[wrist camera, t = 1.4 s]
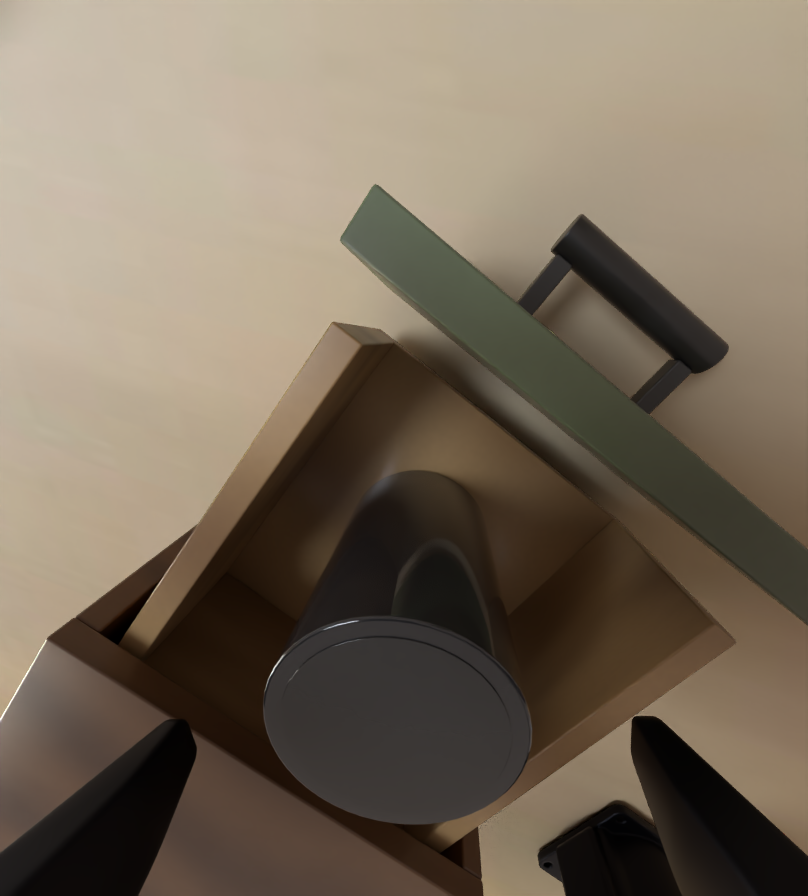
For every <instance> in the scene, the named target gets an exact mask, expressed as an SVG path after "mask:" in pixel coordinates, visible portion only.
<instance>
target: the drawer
mask: <svg viewBox="0 0 808 896" xmlns="http://www.w3.org/2000/svg"><path fill="white" fill-rule="evenodd" d="M340 241H341V243H342V244H343V245H344V246H345V247H346V248H347V249H348V250H349V251H350V252H351V253H352V254H354V255H355V256H356V257H357V258H358V259H359V260H360V261H361V262H362V263H363V264H364V265H365V266H366V267H367V268H368V269H369V270H370V271H371V272H372V273H373V274H374V275H375V276H377V277H378V278H379V279H380V280H381V281H382V282H383V283H384V284H385V285H386V286H387V287H388V288H389V289H390V290H392V291H393V292H394V293H395V294H397V295H398V296H399V297H400V298H401V299H403V300H404V301H405V302H406V303H408V304H409V305H410V306H411V307H412V308H414V309H415V310H416V311H417V312H419V313H420V314H421V315H422V316H423V317H425V318H426V319H427V320H428V321H430V322H431V323H432V324H433V325H434V326H436V327H437V328H438V329H439V330H441V331H442V332H443V333H444V334H445V335H447V336H448V337H449V338H450V339H452V340H453V341H454V342H455V343H456V344H458V345H459V346H460V347H461V348H463V349H464V350H465V351H466V352H467V353H469V354H470V355H471V356H472V357H474V358H475V359H476V360H477V361H478V362H480V363H481V364H482V365H483V366H485V367H486V368H487V369H488V370H489V371H491V372H492V373H493V374H494V375H496V376H497V377H498V378H499V379H500V380H502V381H503V382H504V383H505V384H507V385H508V386H509V387H510V388H511V389H513V390H514V391H515V392H516V393H518V394H519V395H520V396H521V397H522V398H524V399H525V400H526V401H527V402H529V403H530V404H531V405H532V406H533V407H535V408H536V409H537V410H538V411H540V412H541V413H542V414H543V415H544V416H546V417H547V418H548V419H549V420H551V421H552V422H553V423H554V424H555V425H557V426H558V427H559V428H560V429H562V430H563V431H564V432H565V433H566V434H568V435H569V436H570V437H571V438H573V439H574V440H575V441H576V442H577V443H579V444H580V445H581V446H582V447H584V448H585V449H586V450H587V451H588V452H590V453H591V454H592V455H593V456H595V457H596V458H597V459H598V460H599V461H601V462H602V463H603V464H604V465H606V466H607V467H608V468H609V469H610V470H612V471H613V472H614V473H615V474H617V475H618V476H619V477H620V478H621V479H623V480H624V481H625V482H626V483H628V484H629V485H630V486H631V487H632V488H634V489H635V490H636V491H637V492H639V493H640V494H641V495H642V496H643V497H645V498H646V499H647V500H648V501H650V502H651V503H652V504H653V505H655V506H656V507H657V508H658V509H660V510H661V511H662V512H663V513H665V514H666V515H667V516H669V517H670V518H671V519H672V520H674V521H675V522H676V523H677V524H679V525H680V526H681V527H683V528H684V529H685V530H686V531H688V532H689V533H690V534H692V535H693V536H694V537H695V538H697V539H698V540H699V541H700V542H702V543H703V544H704V545H706V546H707V547H708V548H709V549H711V550H712V551H713V552H715V553H716V554H717V555H718V556H720V557H721V558H722V559H723V560H725V561H726V562H727V563H729V564H730V565H731V566H732V567H734V568H735V569H736V570H738V571H739V572H740V573H741V574H743V575H744V576H745V577H746V578H748V579H749V580H750V581H752V582H753V583H754V584H755V585H757V586H758V587H759V588H761V589H762V590H763V591H764V592H766V593H767V594H768V595H769V596H771V597H772V598H773V599H775V600H776V601H777V602H778V603H780V604H781V605H782V606H783V607H785V608H786V609H787V610H789V611H790V612H791V613H792V614H794V615H795V616H796V617H798V618H799V619H800V620H801V621H803V622H804V623H805V624H806V625H808V549H807V548H805V547H804V546H803V545H802V544H801V543H800V542H798V541H797V540H796V539H795V538H794V537H793V536H791V535H790V534H789V533H788V532H787V531H785V530H784V529H783V528H782V527H781V526H780V525H778V524H777V523H776V522H775V521H774V520H772V519H771V518H770V517H769V516H768V515H767V514H765V513H764V512H763V511H762V510H761V509H760V508H758V507H757V506H756V505H755V504H754V503H752V502H751V501H750V500H749V499H748V498H747V497H745V496H744V495H743V494H742V493H741V492H739V491H738V490H737V489H736V488H735V487H734V486H732V485H731V484H730V483H729V482H728V481H726V480H725V479H724V478H723V477H722V476H721V475H719V474H718V473H717V472H716V471H715V470H714V469H712V468H711V467H710V466H709V465H708V464H706V463H705V462H704V461H703V460H702V459H701V458H699V457H698V456H697V455H696V454H695V453H693V452H692V451H691V450H690V449H689V448H688V447H686V446H685V445H684V444H683V443H682V442H681V441H679V440H678V439H677V438H676V437H675V436H673V435H672V434H671V433H670V432H669V431H668V430H666V429H665V428H664V427H663V426H662V425H660V424H659V423H658V422H657V421H656V420H655V419H653V418H652V417H651V416H650V415H649V414H650V413H651V412H652V411H653V410H654V409H655V408H656V407H657V406H658V405H659V404H660V403H661V402H662V401H663V400H664V399H665V398H666V397H667V396H668V395H669V394H670V393H671V392H672V391H673V390H674V389H675V388H676V387H677V386H678V385H679V384H680V383H681V382H682V381H683V380H684V379H685V378H687V377H688V376H689V375H690V374H698V373H701V372H704V371H706V370H708V369H710V368H711V367H713V366H714V365H716V364H717V363H718V362H719V361H721V360H722V359H723V358H724V356H725V355H726V354H727V352H728V349H729V346H728V344H727V343H726V342H725V341H724V340H723V339H722V338H720V337H719V336H718V335H717V334H716V333H715V332H714V331H713V330H712V329H710V328H709V327H708V326H707V325H706V324H705V323H704V322H703V321H702V320H700V319H699V318H698V317H697V316H696V315H695V314H694V313H693V312H691V311H690V310H689V309H688V308H687V307H686V306H685V305H684V304H683V303H681V302H680V301H679V300H678V299H677V298H676V297H675V296H674V295H673V294H671V293H670V292H669V291H668V290H667V289H666V288H665V287H664V286H663V285H661V284H660V283H659V282H658V281H657V280H656V279H655V278H654V277H653V276H651V275H650V274H649V273H648V272H647V271H646V270H645V269H644V268H642V267H641V266H640V265H639V264H638V263H637V262H636V261H635V260H634V259H632V258H631V257H630V256H629V255H628V254H627V253H626V252H625V251H624V250H622V249H621V248H620V247H619V246H618V245H617V244H616V243H615V242H614V241H612V240H611V239H610V238H609V237H608V236H607V235H606V234H605V233H603V232H602V231H601V230H600V229H599V228H598V227H597V226H596V225H595V224H593V223H592V222H591V221H590V220H589V219H588V218H587V217H586V216H585V215H583V214H580V215H579V216H578V217H577V218H576V219H575V220H574V221H573V222H572V223H571V225H570V226H569V227H568V228H567V229H566V230H565V232H564V233H563V234H562V235H561V236H560V238H559V239H558V240H557V241H556V243H555V244H554V245H553V247H552V249H551V252H552V253H553V254H554V255H555V257H553V258H552V259H551V260H550V262H549V263H548V264H547V265H546V266H545V268H544V269H543V270H542V271H541V273H540V274H539V275H538V276H537V278H536V279H535V280H534V281H533V283H532V284H531V285H530V286H529V287H528V289H527V290H526V291H525V292H524V294H523V295H522V296H521V297H520V299H519V300H518V301H517V302H515V301H514V300H513V299H512V298H511V297H510V296H508V295H507V294H506V293H505V292H504V291H502V290H501V289H500V288H499V287H498V286H497V285H495V284H494V283H493V282H492V281H491V280H490V279H488V278H487V277H486V276H485V275H484V274H482V273H481V272H480V271H479V270H478V269H477V268H475V267H474V266H473V265H472V264H471V263H469V262H468V261H467V260H466V259H465V258H464V257H462V256H461V255H460V254H459V253H458V252H457V251H455V250H454V249H453V248H452V247H451V246H449V245H448V244H447V243H446V242H445V241H444V240H442V239H441V238H440V237H439V236H438V235H436V234H435V233H434V232H433V231H432V230H431V229H429V228H428V227H427V226H426V225H425V224H423V223H422V222H421V221H420V220H419V219H418V218H416V217H415V216H414V215H413V214H412V213H411V212H409V211H408V210H407V209H406V208H405V207H403V206H402V205H401V204H400V203H399V202H398V201H396V200H395V199H394V198H393V197H392V196H390V195H389V194H388V193H387V192H386V191H385V190H383V189H382V188H381V187H380V186H379V185H376V184H375V185H374V186H373V187H372V188H371V190H370V191H369V193H368V195H367V196H366V198H365V199H364V201H363V203H362V204H361V206H360V207H359V209H358V211H357V212H356V214H355V215H354V217H353V219H352V220H351V222H350V223H349V225H348V227H347V228H346V230H345V231H344V233H343V235H342V236H341V239H340ZM570 269H571V270H572V271H574V272H575V273H576V274H577V275H578V276H579V277H580V278H582V279H583V280H584V281H585V282H586V283H587V284H588V285H590V286H591V287H592V288H593V289H594V290H595V291H596V292H598V293H599V294H600V295H601V296H602V297H603V298H604V299H606V300H607V301H608V302H609V303H610V304H611V305H612V306H614V307H615V308H616V309H617V310H618V311H619V312H620V313H622V314H623V315H624V316H625V317H626V318H627V319H628V320H630V321H631V322H632V323H633V324H634V325H635V326H636V327H638V328H639V329H640V330H641V331H642V332H643V333H644V334H646V335H647V336H648V337H649V338H650V339H651V340H652V341H654V342H655V343H656V344H657V345H658V346H659V347H660V348H662V349H663V350H664V351H665V352H666V353H667V354H668V355H670V356H671V357H672V358H673V359H674V360H673V359H670V360H668V361H667V362H666V363H665V364H664V365H663V366H662V367H661V368H660V369H659V370H658V371H657V372H656V373H655V374H654V375H653V376H652V377H651V378H650V379H649V380H648V381H647V382H646V383H645V384H644V385H643V387H642V388H641V389H640V390H639V391H638V392H637V393H636V394H635V395H634V396H633V397H632V398H631V399H630V398H629V397H627V396H626V395H625V394H624V393H623V392H622V391H620V390H619V389H618V388H617V387H616V386H614V385H613V384H612V383H611V382H610V381H609V380H607V379H606V378H605V377H604V376H603V375H602V374H600V373H599V372H598V371H597V370H596V369H594V368H593V367H592V366H591V365H590V364H589V363H587V362H586V361H585V360H584V359H583V358H581V357H580V356H579V355H578V354H577V353H576V352H574V351H573V350H572V349H571V348H570V347H569V346H567V345H566V344H565V343H564V342H563V341H561V340H560V339H559V338H558V337H557V336H556V335H554V334H553V333H552V332H551V331H550V330H548V329H547V328H546V327H545V326H544V325H543V324H541V323H540V322H539V321H538V320H537V319H536V318H534V317H533V316H532V315H533V314H534V313H535V311H536V310H537V309H538V308H539V307H540V305H541V304H542V303H543V302H544V301H545V299H546V298H547V297H548V296H549V295H550V293H551V292H552V291H553V290H554V289H555V287H556V286H557V285H558V284H559V283H560V281H561V280H562V279H563V278H564V277H565V275H566V274H567V273H568V272H569V271H570ZM405 471H428V472H432V473H437V474H440V475H442V476H445V477H447V478H449V479H451V480H453V481H455V482H456V483H458V484H459V485H461V486H462V487H463V488H464V489H466V490H467V491H468V492H469V493H470V494H471V496H472V497H473V498H474V499H475V501H476V502H477V504H478V505H479V507H480V509H481V511H482V513H483V517H484V520H485V524H486V528H487V532H488V536H489V541H490V545H491V549H492V553H493V557H494V562H495V566H496V570H497V574H498V579H499V583H500V587H501V591H502V596H503V600H504V604H505V608H506V612H507V617H508V621H509V625H510V629H511V634H512V638H513V642H514V646H515V651H516V655H517V659H518V663H519V667H520V672H521V676H522V680H523V684H524V689H525V693H526V697H527V701H528V706H529V710H530V714H531V721H532V744H531V748H530V753H529V758H528V760H527V762H526V765H525V767H524V770H523V771H522V773H521V775H520V776H519V778H518V779H517V781H516V782H515V783H514V784H513V786H512V787H511V788H510V789H509V790H508V791H507V792H506V793H505V794H504V795H503V796H501V797H500V798H499V799H498V800H497V801H495V802H493V803H492V804H490V805H489V806H487V807H485V808H484V809H482V810H480V811H477V812H475V813H473V814H471V815H468V816H465V817H462V818H459V819H456V820H451V821H446V822H442V823H433V824H416V825H409V824H395V823H393V824H395V825H396V826H398V827H399V828H401V829H402V830H404V831H405V832H407V833H409V834H410V835H412V836H413V837H415V838H416V839H418V840H419V841H421V842H422V843H424V844H426V845H427V846H429V847H430V848H432V849H433V850H435V851H436V852H438V853H439V854H440V853H441V852H442V851H444V850H445V849H447V848H448V847H449V846H451V845H452V844H454V843H455V842H456V841H458V840H459V839H461V838H462V837H464V836H465V835H466V834H468V833H469V832H471V831H472V830H473V829H475V828H476V827H478V826H479V825H480V824H482V823H483V822H485V821H486V820H488V819H489V818H490V817H492V816H493V815H495V814H496V813H497V812H499V811H500V810H502V809H503V808H504V807H506V806H507V805H509V804H510V803H511V802H513V801H514V800H516V799H517V798H519V797H520V796H521V795H523V794H524V793H526V792H527V791H528V790H530V789H531V788H533V787H534V786H535V785H537V784H538V783H540V782H541V781H542V780H544V779H545V778H547V777H548V776H550V775H551V774H552V773H554V772H555V771H557V770H558V769H559V768H561V767H562V766H564V765H565V764H566V763H568V762H569V761H571V760H572V759H573V758H575V757H576V756H578V755H579V754H581V753H582V752H583V751H585V750H586V749H588V748H589V747H590V746H592V745H593V744H595V743H596V742H597V741H599V740H600V739H602V738H603V737H604V736H606V735H607V734H609V733H610V732H612V731H613V730H614V729H616V728H617V727H619V726H620V725H621V724H623V723H624V722H626V721H627V720H628V719H630V718H631V717H633V716H634V715H635V714H637V713H638V712H640V711H641V710H643V709H644V708H645V707H647V706H648V705H650V704H651V703H652V702H654V701H655V700H657V699H658V698H659V697H661V696H662V695H664V694H665V693H666V692H668V691H669V690H671V689H672V688H674V687H675V686H676V685H678V684H679V683H681V682H682V681H683V680H685V679H686V678H688V677H689V676H690V675H692V674H693V673H695V672H696V671H697V670H699V669H700V668H702V667H703V666H705V665H706V664H707V663H709V662H710V661H712V660H713V659H714V658H716V657H717V656H719V655H720V654H721V653H723V652H724V651H726V650H727V649H728V648H730V647H731V646H733V645H734V644H736V640H735V639H734V638H733V637H732V636H731V635H730V634H729V633H728V632H727V631H726V630H725V629H724V628H723V627H722V626H721V625H720V624H719V623H718V622H717V621H716V620H715V618H714V617H713V616H712V615H711V614H710V613H709V612H708V611H707V610H706V609H705V608H704V607H703V606H702V605H701V604H700V603H699V602H698V601H697V600H696V599H695V598H694V597H693V596H692V595H691V594H690V593H689V592H688V591H687V590H686V589H685V588H684V587H683V586H682V585H681V584H680V583H679V582H678V581H677V580H676V579H675V577H674V576H673V575H672V574H671V573H670V572H669V571H668V570H667V569H666V568H665V567H664V566H663V565H662V564H661V563H660V562H659V561H658V560H657V559H656V558H655V557H654V556H653V555H652V554H651V553H650V552H649V551H648V550H647V549H646V548H645V547H644V546H643V545H642V544H641V543H640V542H639V541H638V540H637V539H636V537H635V536H634V535H633V534H632V533H631V532H630V531H629V530H628V529H627V528H626V527H625V526H624V525H623V524H622V523H621V522H620V521H619V520H618V519H616V518H615V517H614V516H613V515H611V514H610V513H609V512H608V511H606V510H605V509H604V508H603V507H601V506H600V505H599V504H598V503H596V502H595V501H594V500H593V499H591V498H590V497H589V496H588V495H586V494H585V493H584V492H583V491H581V490H580V489H579V488H578V487H576V486H575V485H574V484H573V483H571V482H570V481H569V480H568V479H566V478H565V477H564V476H563V475H562V474H560V473H559V472H558V471H557V470H555V469H554V468H553V467H552V466H550V465H549V464H548V463H547V462H545V461H544V460H543V459H542V458H540V457H539V456H538V455H537V454H535V453H534V452H533V451H532V450H530V449H529V448H528V447H527V446H525V445H524V444H523V443H522V442H520V441H519V440H518V439H517V438H515V437H514V436H513V435H512V434H510V433H509V432H508V431H507V430H505V429H504V428H503V427H502V426H500V425H499V424H498V423H497V422H495V421H494V420H493V419H492V418H490V417H489V416H488V415H487V414H486V413H484V412H483V411H482V410H481V409H479V408H478V407H477V406H476V405H474V404H473V403H472V402H471V401H469V400H468V399H467V398H466V397H464V396H463V395H462V394H461V393H459V392H458V391H457V390H456V389H454V388H453V387H452V386H451V385H449V384H448V383H447V382H446V381H444V380H443V379H442V378H441V377H439V376H438V375H437V374H436V373H434V372H433V371H432V370H431V369H429V368H428V367H427V366H426V365H424V364H423V363H422V362H421V361H419V360H418V359H417V358H416V357H414V356H413V355H412V354H411V353H410V352H408V351H407V350H406V349H405V348H403V347H402V346H401V345H400V344H398V343H397V342H396V341H395V340H393V339H392V338H391V337H390V336H388V335H387V334H386V333H385V332H383V331H382V330H381V329H375V328H369V327H363V326H356V325H350V324H344V323H337V322H332V323H331V325H330V326H329V328H328V329H327V331H326V332H325V334H324V335H323V337H322V338H321V340H320V341H319V343H318V344H317V346H316V347H315V349H314V350H313V352H312V353H311V355H310V356H309V358H308V359H307V361H306V362H305V364H304V365H303V367H302V368H301V370H300V371H299V373H298V374H297V376H296V377H295V379H294V380H293V382H292V383H291V385H290V386H289V388H288V389H287V391H286V392H285V394H284V395H283V397H282V398H281V400H280V401H279V403H278V404H277V406H276V407H275V409H274V410H273V412H272V413H271V415H270V416H269V418H268V419H267V421H266V422H265V424H264V426H263V427H262V429H261V430H260V432H259V433H258V435H257V436H256V438H255V439H254V441H253V442H252V444H251V445H250V447H249V448H248V450H247V451H246V453H245V454H244V456H243V457H242V459H241V460H240V462H239V463H238V465H237V466H236V468H235V469H234V471H233V472H232V474H231V475H230V477H229V478H228V480H227V481H226V483H225V484H224V486H223V487H222V489H221V490H220V492H219V493H218V495H217V496H216V498H215V499H214V501H213V502H212V504H211V505H210V507H209V508H208V510H207V511H206V513H205V514H204V516H203V517H202V519H201V520H200V522H199V523H198V525H197V526H196V528H195V529H194V531H193V533H192V534H191V536H190V537H189V539H188V540H187V542H186V543H185V545H184V546H183V548H182V549H181V551H180V552H179V554H178V555H177V557H176V558H175V560H174V561H173V563H172V564H171V566H170V567H169V569H168V570H167V572H166V573H165V575H164V576H163V578H162V579H161V581H160V582H159V584H158V585H157V587H156V588H155V590H154V591H153V593H152V594H151V596H150V597H149V599H148V600H147V602H146V603H145V605H144V606H143V608H142V609H141V611H140V612H139V614H138V615H137V617H136V618H135V620H134V621H133V623H132V624H131V626H130V627H129V629H128V630H127V632H126V633H125V635H124V636H123V638H122V640H121V641H120V643H119V644H118V646H120V647H121V648H123V649H124V650H126V651H127V652H129V653H130V654H132V655H134V656H135V657H137V658H138V659H140V660H141V661H143V662H144V663H146V664H147V665H149V666H151V667H152V668H154V669H155V670H157V671H158V672H160V673H161V674H163V675H164V676H166V677H168V678H169V679H171V680H172V681H174V682H175V683H177V684H178V685H180V686H181V687H183V688H185V689H186V690H188V691H189V692H191V693H192V694H194V695H195V696H197V697H198V698H200V699H202V700H203V701H205V702H206V703H208V704H209V705H211V706H212V707H214V708H215V709H217V710H219V711H220V712H222V713H223V714H225V715H226V716H228V717H229V718H231V719H232V720H234V721H236V722H237V723H239V724H240V725H242V726H243V727H245V728H246V729H248V730H249V731H251V732H253V733H254V734H256V735H257V736H259V737H260V738H262V739H263V740H265V741H266V742H268V743H270V744H271V742H270V740H269V737H268V734H267V732H266V727H265V722H264V715H263V700H264V691H265V687H266V684H267V680H268V677H269V675H270V673H271V671H272V669H273V667H274V665H275V663H276V661H277V659H278V657H279V655H280V653H281V652H282V650H283V648H284V646H285V644H286V642H287V640H288V638H289V636H290V634H291V632H292V630H293V628H294V626H295V624H296V622H297V620H298V618H299V616H300V614H301V613H302V611H303V609H304V607H305V605H306V603H307V601H308V599H309V597H310V595H311V593H312V591H313V589H314V587H315V585H316V583H317V581H318V579H319V577H320V576H321V574H322V572H323V570H324V568H325V566H326V564H327V562H328V560H329V558H330V556H331V554H332V552H333V550H334V548H335V546H336V544H337V542H338V540H339V538H340V537H341V535H342V533H343V531H344V529H345V527H346V525H347V523H348V521H349V519H350V517H351V515H352V513H353V511H354V509H355V507H356V505H357V503H358V501H359V500H360V498H361V497H362V496H363V494H364V493H365V492H366V491H367V490H368V489H369V488H370V487H371V486H372V485H374V484H375V483H376V482H378V481H380V480H381V479H383V478H385V477H387V476H390V475H392V474H396V473H399V472H405Z"/></svg>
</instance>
